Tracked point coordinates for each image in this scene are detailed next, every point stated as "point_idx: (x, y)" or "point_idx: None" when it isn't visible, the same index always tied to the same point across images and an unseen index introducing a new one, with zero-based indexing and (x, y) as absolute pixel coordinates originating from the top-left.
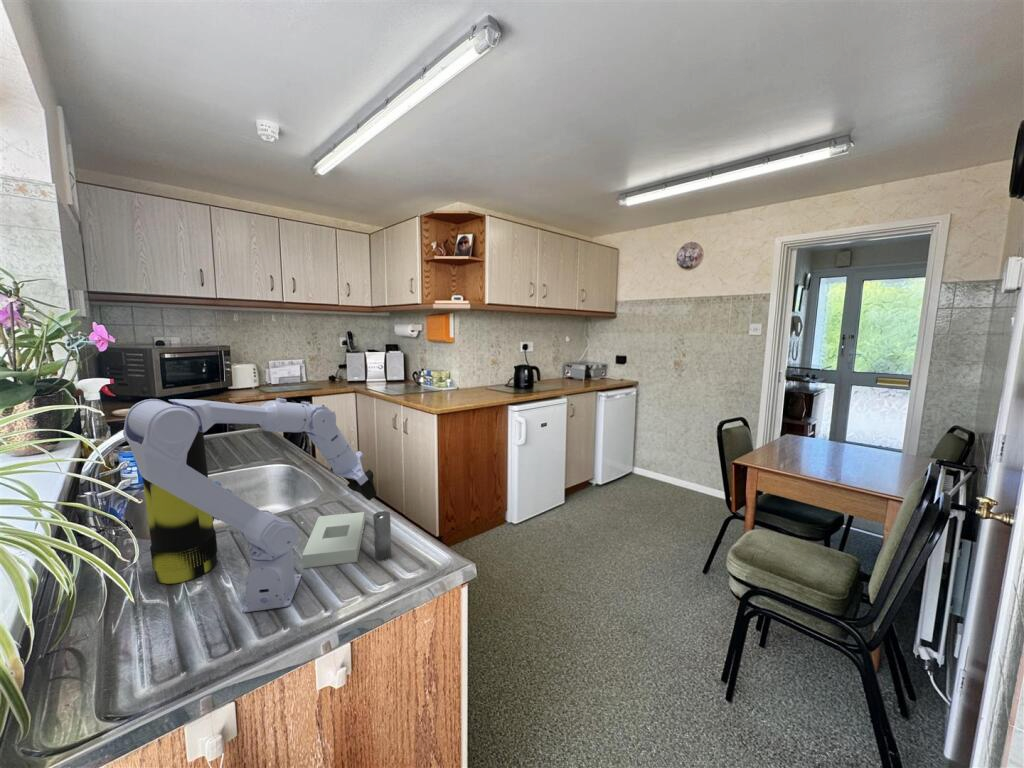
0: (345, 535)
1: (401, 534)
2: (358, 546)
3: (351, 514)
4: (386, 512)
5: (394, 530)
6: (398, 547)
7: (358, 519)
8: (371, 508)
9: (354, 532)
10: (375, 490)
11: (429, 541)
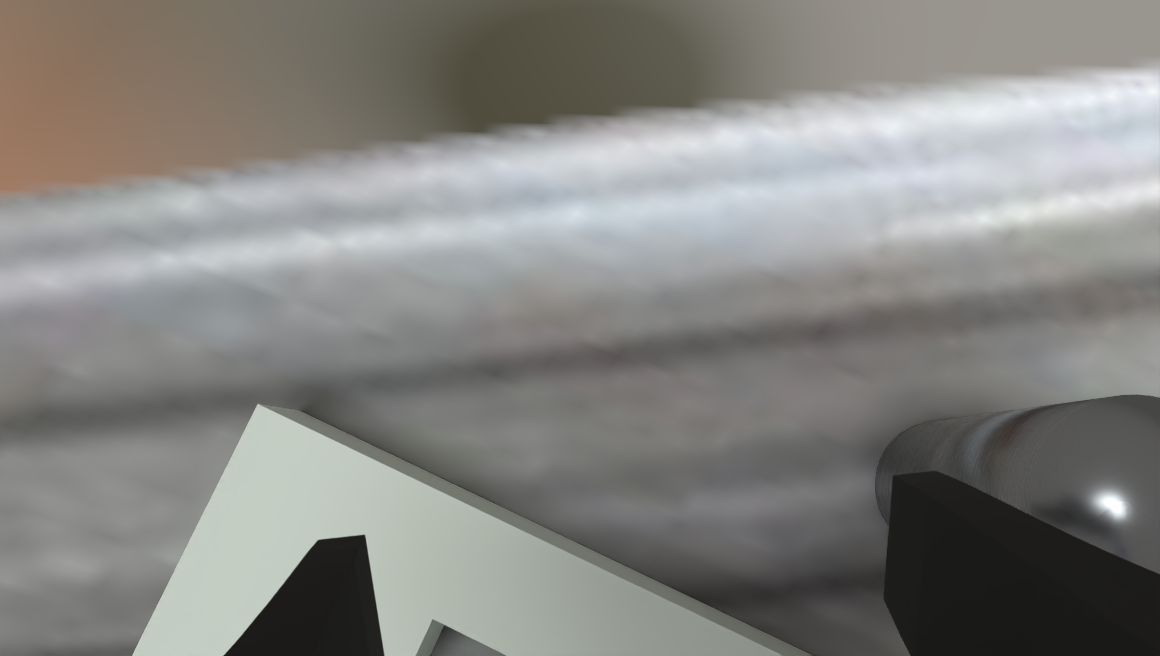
0: (434, 641)
1: (697, 228)
2: (788, 651)
3: (225, 530)
4: (1102, 424)
5: (595, 249)
6: (884, 333)
7: (377, 510)
8: (69, 261)
9: (612, 634)
10: (994, 497)
11: (945, 89)
